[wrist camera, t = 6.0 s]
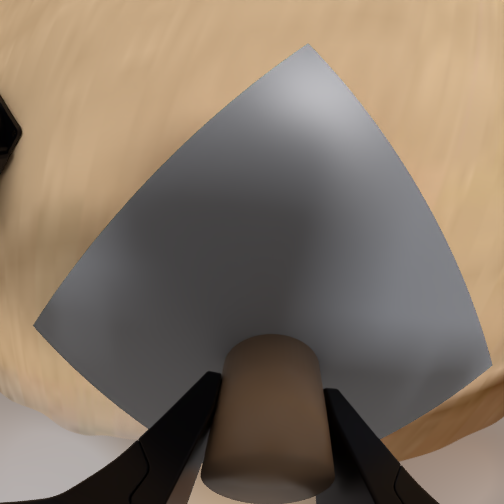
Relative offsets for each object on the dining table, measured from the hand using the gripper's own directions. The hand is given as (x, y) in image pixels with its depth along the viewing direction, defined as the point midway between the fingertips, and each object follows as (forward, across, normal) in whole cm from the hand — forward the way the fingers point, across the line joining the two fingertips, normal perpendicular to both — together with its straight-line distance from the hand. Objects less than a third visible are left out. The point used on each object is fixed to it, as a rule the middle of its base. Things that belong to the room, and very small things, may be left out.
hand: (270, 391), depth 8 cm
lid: (+2, 0, 0) cm, 2 cm away
